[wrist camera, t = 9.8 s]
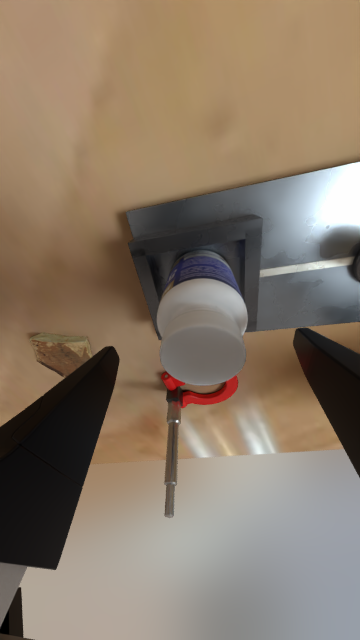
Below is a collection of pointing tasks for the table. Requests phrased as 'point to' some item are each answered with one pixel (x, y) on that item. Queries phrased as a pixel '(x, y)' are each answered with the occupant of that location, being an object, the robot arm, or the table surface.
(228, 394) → the tow hook
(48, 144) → the table surface
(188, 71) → the table surface
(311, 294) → the metal plate with knob
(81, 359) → the shard
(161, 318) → the pill bottle
